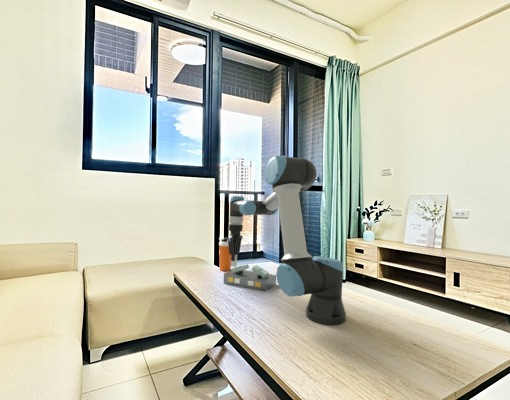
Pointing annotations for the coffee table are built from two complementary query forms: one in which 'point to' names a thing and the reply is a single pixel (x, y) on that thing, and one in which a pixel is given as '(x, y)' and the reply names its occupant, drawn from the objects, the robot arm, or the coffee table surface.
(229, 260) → the shaker bottle
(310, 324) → the coffee table surface
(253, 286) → the console
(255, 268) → the switch
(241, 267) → the switch
